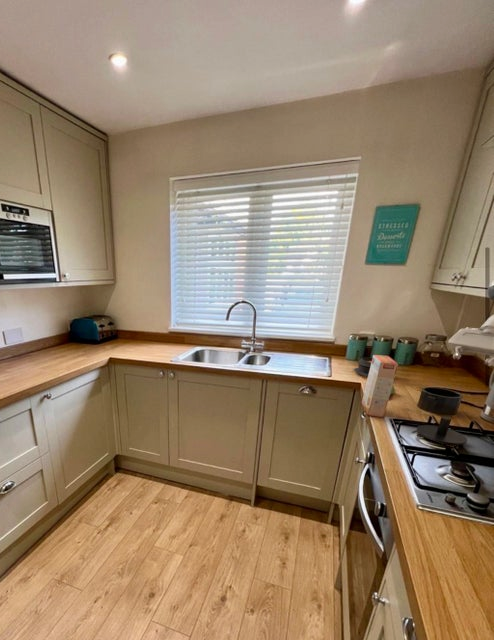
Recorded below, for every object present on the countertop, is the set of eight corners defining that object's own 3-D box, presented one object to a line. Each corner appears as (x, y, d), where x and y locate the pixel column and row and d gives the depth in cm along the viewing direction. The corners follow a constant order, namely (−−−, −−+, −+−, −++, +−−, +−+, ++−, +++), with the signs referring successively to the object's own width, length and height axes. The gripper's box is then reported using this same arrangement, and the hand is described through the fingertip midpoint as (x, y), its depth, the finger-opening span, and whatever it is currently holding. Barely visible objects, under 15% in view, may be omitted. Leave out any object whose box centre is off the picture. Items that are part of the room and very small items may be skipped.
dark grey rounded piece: (394, 384, 164) (398, 367, 161) (353, 378, 172) (356, 363, 169) (390, 372, 185) (394, 358, 182) (353, 368, 193) (356, 354, 190)
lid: (472, 440, 106) (479, 421, 103) (456, 450, 99) (463, 430, 97) (426, 425, 116) (431, 407, 114) (408, 433, 109) (414, 415, 107)
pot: (463, 413, 129) (470, 393, 126) (444, 423, 120) (451, 401, 117) (427, 403, 139) (433, 384, 136) (407, 411, 129) (413, 391, 126)
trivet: (464, 441, 106) (465, 439, 106) (452, 448, 101) (452, 447, 101) (429, 429, 114) (430, 427, 114) (416, 436, 109) (416, 434, 109)
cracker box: (384, 418, 123) (399, 363, 115) (366, 415, 124) (379, 361, 117) (377, 405, 135) (389, 355, 128) (361, 403, 137) (372, 353, 130)
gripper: (460, 320, 119) (436, 348, 119) (534, 328, 102) (506, 361, 102) (464, 332, 123) (440, 360, 122) (536, 342, 105) (508, 374, 105)
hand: (470, 361), depth 112 cm, fingers open, 8 cm apart
